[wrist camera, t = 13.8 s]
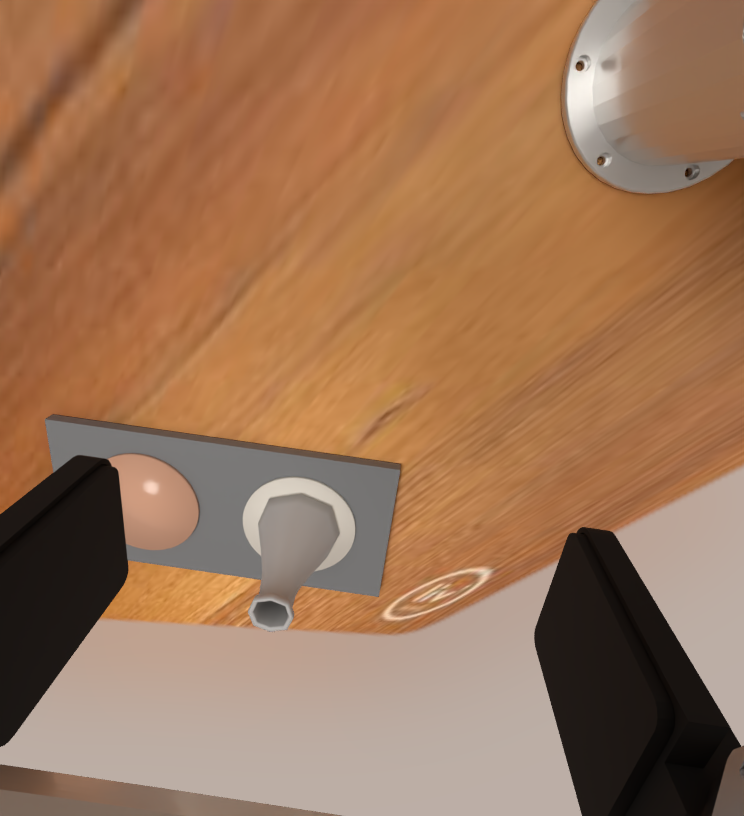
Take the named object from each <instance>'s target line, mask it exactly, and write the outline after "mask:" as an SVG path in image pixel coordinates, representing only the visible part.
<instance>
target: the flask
mask: <svg viewBox="0 0 744 816" xmlns="http://www.w3.org/2000/svg"><path fill="white" fill-rule="evenodd" d="M258 530H259V539H260V547H261V561H262V579H261V586H260V592H259V595H256V596H255V598H254V600H253V602H252V604H251V606H250V608H249V610H248V614H249V616H250V618H251V621H252V623H253V625H254V626H256V627H259V628H261V629H264V630H267V631H269V632H273V631H282V630H287V629H288V627H289V625H290V623H291V622H292V620H293V618H294V611H293V608H292V606H293V603H294V599H295V596H296V594H297V592H298V590H299V589H300V588H301V586H302V585H303V584H304V583H305V582H306V580H307V579H308V578H309V577H310V576H311V574H312V573H313V572H314V571H315V570H316V569H317V568H318V567H319V566H320V565H321V564H322V563H323V561H324V560H325V559H326V558H327V557H328V555H329V553H330V551H331V549H332V547H333V546H334V544H335V542H336V540H337V538H338V536H339V534H340V533H339V529H338V526H337V522H336V519H335V515H334V512H333V509H332V507H331V506H329V505H327V504H324V503H322V502H320V501H317V500H315V499H312V498H310V497H308V496H305V495H303V494H296V495H289V496H282V497H275V498H269V499H268V502H267V504H266V506H265V508H264V511H263V513H262V515H261V517H260V520H259V522H258Z"/></svg>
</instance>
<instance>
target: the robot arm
mask: <svg viewBox="0 0 744 816" xmlns="http://www.w3.org/2000/svg"><path fill="white" fill-rule="evenodd" d="M577 62H580V63H581V64H582V70H581V71H577V70H576V68H575V65H576V63H577ZM561 103H562V118H563V122H564V126H565V130H566V134H567V138H568V140H569V142H570V144H571V146H572V148H573V151H574V153H575V155H576V156H577V157H578V159H579V160H580V161H581V163H582V164H583V165H584V166H585V168H586V169H587V170H588V171H589V172H591V173H592V174H593V175H594V176H595V177H597V178H598V179H599V180H600V181H602V182H604V183H606V184H608V185H610V186H612V187H614V188H616V189H620V190H624V191H628V192H632V193H645V194H653V193H666V192H672V191H675V190H679V189H683V188H687V187H690V186H692V185H694V184H696V183H699V182H701V181H703V180H705V179H707V178H709V177H711V176H712V175H714V174H715V173H717V172H718V171H720V170H721V169H723V168H724V167H726V166H728V165H729V164H730V163H731V162H732V161H733V160H734V159H739V158H744V0H597V1H596V2H595V3H594V5H593V6H592V8H591V9H590V11H589V12H588V14H587V16H586V17H585V19H584V20H583V22H582V23H581V25H580V27H579V29H578V32H577V34H576V36H575V38H574V41H573V43H572V45H571V47H570V51H569V54H568V58H567V61H566V65H565V68H564V73H563V82H562V90H561ZM599 157H602V159H603V163H602V164H601V165H600V166H599V165H598V164H597V159H598V158H599ZM686 169H688V171H689V172H688V175H687V176H686V177H685V171H686ZM127 575H128V559H127V549H126V539H125V530H124V520H123V510H122V500H121V491H120V481H119V473H118V470H117V468H115V467H112V465H111V463H110V461H109V460H108V459H105V458H98V457H91V456H85V455H76V456H74V457H73V458H71V459H70V460H69V461H68V462H66V463H65V464H64V465H63V466H61V467H60V468H59V469H57V470H56V471H55V472H54V473H52V474H51V475H50V476H49V477H47V478H46V479H45V480H43V481H42V482H41V483H40V484H38V485H37V486H36V487H35V488H33V489H32V490H31V491H30V492H28V493H27V494H26V495H24V496H23V497H22V498H21V499H19V500H18V501H17V502H16V503H14V504H13V505H12V506H10V507H9V508H8V509H7V510H5V511H4V512H3V513H2V514H0V747H1V746H3V745H5V744H6V743H8V742H9V741H10V739H11V738H12V737H13V736H14V735H15V733H16V732H17V731H18V729H19V728H20V727H21V725H22V723H23V722H24V721H25V720H26V718H27V717H28V715H29V714H30V713H31V711H32V710H33V709H34V707H35V706H36V704H37V703H38V702H39V700H40V699H41V698H42V696H43V695H44V694H45V692H46V691H47V689H48V688H49V687H50V685H51V684H52V683H53V681H54V680H55V678H56V677H57V676H58V674H59V673H60V672H61V670H62V669H63V667H64V666H65V665H66V663H67V662H68V660H69V659H70V658H71V656H72V655H73V654H74V652H75V651H76V650H77V648H78V647H79V645H80V644H81V643H82V641H83V640H84V639H85V637H86V636H87V634H88V633H89V632H90V630H91V629H92V628H93V626H94V625H95V623H96V622H97V621H98V619H99V618H100V617H101V615H102V614H103V613H104V611H105V610H106V608H107V607H108V606H109V604H110V603H111V602H112V600H113V599H114V597H115V596H116V595H117V593H118V592H119V591H120V589H121V588H122V586H123V585H124V583H125V581H126V578H127ZM534 636H535V637H534V639H535V647H536V651H537V655H538V658H539V662H540V665H541V669H542V672H543V676H544V680H545V683H546V687H547V691H548V694H549V698H550V701H551V705H552V709H553V712H554V716H555V719H556V723H557V727H558V730H559V734H560V738H561V741H562V744H563V748H564V752H565V755H566V759H567V763H568V766H569V770H570V773H571V777H572V781H573V785H574V788H575V791H576V795H577V799H578V802H579V806H580V810H581V813H582V816H744V746H742V747H741V745H740V743H739V742H738V740H737V738H736V737H735V735H734V734H733V732H732V730H731V728H730V726H729V725H728V723H727V721H726V720H725V718H724V716H723V714H722V713H721V711H720V709H719V708H718V706H717V704H716V703H715V701H714V699H713V698H712V696H711V695H710V693H709V691H708V690H707V688H706V686H705V684H704V683H703V681H702V679H701V678H700V676H699V674H698V673H697V671H696V669H695V668H694V666H693V664H692V663H691V661H690V659H689V658H688V656H687V654H686V653H685V651H684V650H683V648H682V646H681V644H680V643H679V641H678V640H677V638H676V636H675V634H674V633H673V631H672V630H671V628H670V626H669V624H668V623H667V621H666V619H665V618H664V616H663V614H662V613H661V611H660V610H659V608H658V606H657V604H656V603H655V601H654V600H653V598H652V596H651V595H650V593H649V591H648V589H647V588H646V586H645V584H644V583H643V581H642V579H641V578H640V576H639V574H638V573H637V571H636V569H635V568H634V566H633V564H632V563H631V561H630V559H629V558H628V556H627V554H626V553H625V551H624V549H623V548H622V546H621V544H620V543H619V541H618V539H617V538H616V536H615V535H614V533H613V532H611V531H607V530H600V529H593V528H586V527H582V528H580V529H579V530H578V531H577V533H570V534H569V536H568V538H567V540H566V543H565V546H564V549H563V552H562V554H561V557H560V560H559V563H558V566H557V569H556V571H555V574H554V577H553V580H552V583H551V585H550V588H549V591H548V594H547V597H546V599H545V602H544V605H543V608H542V611H541V614H540V616H539V619H538V622H537V625H536V628H535V635H534ZM0 816H340V815H334V814H327V813H321V812H314V811H308V810H302V809H295V808H289V807H282V806H276V805H269V804H262V803H256V802H249V801H243V800H236V799H229V798H223V797H216V796H210V795H203V794H197V793H190V792H183V791H176V790H170V789H164V788H157V787H150V786H143V785H137V784H129V783H123V782H116V781H109V780H102V779H95V778H89V777H82V776H75V775H69V774H62V773H54V772H47V771H41V770H34V769H28V768H21V767H13V766H7V765H0Z"/></svg>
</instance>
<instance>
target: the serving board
mask: <svg viewBox="0 0 744 816" xmlns="http://www.w3.org/2000/svg"><path fill="white" fill-rule="evenodd" d="M45 423H46V429H47V436H48V442H49V448H50V454H51V460H52V466H53V472H55V471H56V470H57V469H59V468H60V467H61V466H63V465H64V464H65V463H66V462H68V461H69V460H70V459H71V458H73V457H74V456H76V455H85V456H91V457H98V458H105V459H108V458H110V457H112V456H115V455H118V454H124V453H140V454H145V455H150V456H153V457H156V458H158V459H160V460H163V461H165V462H166V463H168V464H170V465H171V466H173V467H174V468H176V469H177V470H178V471H179V472H180V473H181V474H183V476H184V477H185V478H186V479H187V480H188V481H189V483H190V484H191V485H192V487H193V489H194V491H195V493H196V495H197V498H198V502H199V508H200V513H199V520H198V523H197V526H196V528H195V529H194V531H193V532H192V534H191V535H190V536H189V538H188V539H186V540H185V541H184V542H183V543H181V544H179V545H177V546H175V547H172V548H169V549H164V550H146V549H141V548H137V547H133V546H131V545H128V544H126V549H127V559H128V560H130V561H136V562H143V563H150V564H157V565H164V566H171V567H178V568H184V569H191V570H198V571H205V572H212V573H219V574H225V575H232V576H239V577H246V578H253V579H260V580H261V579H262V561H261V556H260V555H259V554H258V553H257V552H256V551H255V550H254V549H253V547H252V546H251V544H250V543H249V541H248V539H247V537H246V535H245V532H244V528H243V512H244V509H245V506H246V504H247V502H248V500H249V498H250V497H251V495H252V494H253V493H254V492H255V491H256V490H257V489H258V488H259V487H260V486H262V485H263V484H265V483H267V482H269V481H271V480H274V479H277V478H281V477H288V476H299V477H306V478H311V479H314V480H317V481H320V482H322V483H324V484H326V485H328V486H330V487H331V488H333V489H334V490H335V491H337V492H338V493H339V494H340V495H341V496H342V497H343V498H344V499H345V500H346V502H347V503H348V505H349V506H350V508H351V510H352V512H353V515H354V519H355V526H356V528H355V537H354V542H353V544H352V547H351V548H350V550H349V552H348V553H347V554H346V555H345V557H344V558H343V559H341V560H340V561H339V562H338V563H336V564H335V565H333V566H331V567H328V568H326V569H323V570H319V571H314V572H313V573H312V574H311V576H310V577H309V578H308V579H307V580H306V582H305V583H304V584H303V585H302V586H308V587H314V588H321V589H328V590H335V591H342V592H349V593H355V594H362V595H369V596H376V597H379V592H380V586H381V580H382V574H383V568H384V562H385V557H386V551H387V545H388V539H389V533H390V527H391V522H392V516H393V510H394V504H395V498H396V492H397V487H398V481H399V475H400V464H397V463H390V462H383V461H376V460H369V459H362V458H355V457H348V456H341V455H334V454H327V453H320V452H313V451H306V450H299V449H292V448H285V447H278V446H271V445H264V444H257V443H250V442H243V441H236V440H229V439H222V438H215V437H208V436H201V435H194V434H187V433H180V432H173V431H166V430H159V429H152V428H145V427H138V426H131V425H124V424H117V423H110V422H103V421H96V420H89V419H82V418H75V417H68V416H61V415H54V414H53V415H51V416H49V417H48V418H46V419H45Z"/></svg>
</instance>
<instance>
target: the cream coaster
mask: <svg viewBox="0 0 744 816" xmlns="http://www.w3.org/2000/svg"><path fill="white" fill-rule="evenodd" d="M296 494H303V495H305V496H308V497H310V498H312V499H315V500H317V501H320V502H322V503H324V504H327V505H329V506H331V507H332V509H333V512H334V515H335V519H336V522H337V526H338V529H339V533H340V534H339V536H338V538H337V540H336V542H335V544H334V546H333V547H332V549H331V551H330V553H329V555H328V557H327V558H326V559H325V560H324V561H323V563H322V564H321V565H320V566H319V567H318V568H317V569H316V570H315V571H319V570H323V569H326V568H328V567H331V566H333V565H335V564H336V563H338V562H339V561H340V560H341V559H343V558H344V557H345V555H346V554H347V553H348V552H349V550H350V548H351V547H352V544H353V542H354V537H355V528H356V526H355V519H354V515H353V512H352V510H351V508H350V506H349V505H348V503H347V502H346V500H345V499H344V498H343V497H342V496H341V495H340V494H339V493H338V492H337V491H335V490H334V489H333V488H331V487H330V486H328V485H326V484H324V483H322V482H320V481H317V480H314V479H311V478H306V477H299V476H288V477H281V478H277V479H274V480H271V481H269V482H267V483H265V484H263V485H262V486H260V487H259V488H258V489H257V490H256V491H255V492H254V493H253V494H252V495H251V497H250V498H249V500H248V502H247V504H246V506H245V509H244V512H243V528H244V532H245V535H246V537H247V539H248V541H249V543H250V544H251V546H252V547H253V549H254V550H255V551H256V552H257V553H258V554H259V555H260V556H261V547H260V539H259V530H258V522H259V520H260V517H261V515H262V513H263V511H264V508H265V506H266V504H267V502H268V499H269V498H275V497H282V496H289V495H296Z"/></svg>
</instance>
